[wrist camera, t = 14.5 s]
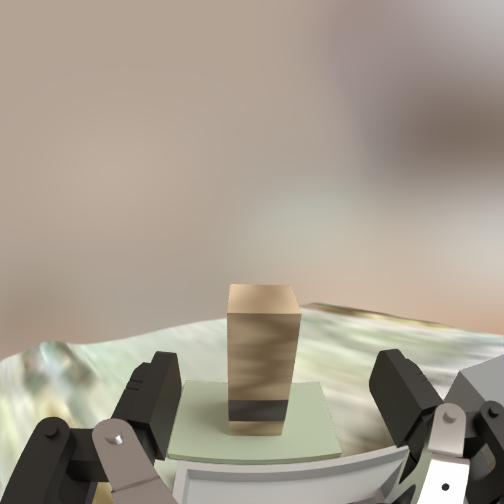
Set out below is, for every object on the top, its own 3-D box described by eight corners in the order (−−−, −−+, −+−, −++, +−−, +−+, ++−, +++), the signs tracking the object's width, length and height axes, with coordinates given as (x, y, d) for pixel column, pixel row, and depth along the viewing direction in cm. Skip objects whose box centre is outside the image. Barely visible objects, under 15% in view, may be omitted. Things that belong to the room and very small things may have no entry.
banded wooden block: (229, 435, 22) (226, 312, 18) (230, 400, 27) (230, 284, 23) (281, 435, 22) (301, 313, 18) (277, 401, 27) (290, 285, 23)
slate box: (394, 528, 10) (505, 425, 6) (380, 486, 14) (459, 370, 11) (442, 507, 10) (544, 394, 6) (425, 470, 15) (503, 354, 11)
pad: (169, 458, 19) (167, 453, 19) (186, 385, 30) (185, 380, 29) (339, 457, 20) (342, 452, 19) (318, 387, 30) (319, 381, 30)
